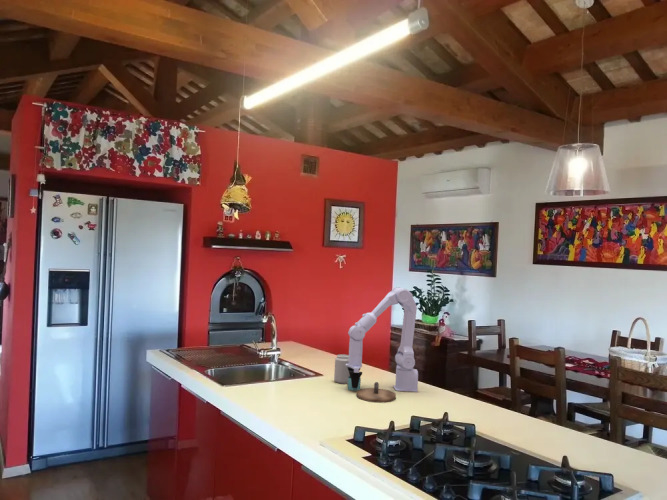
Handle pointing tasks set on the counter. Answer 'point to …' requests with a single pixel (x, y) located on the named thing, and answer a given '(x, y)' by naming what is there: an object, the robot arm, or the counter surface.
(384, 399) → the stand
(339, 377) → the can
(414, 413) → the counter surface
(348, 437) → the counter surface
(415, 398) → the counter surface
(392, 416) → the counter surface
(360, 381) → the collar
